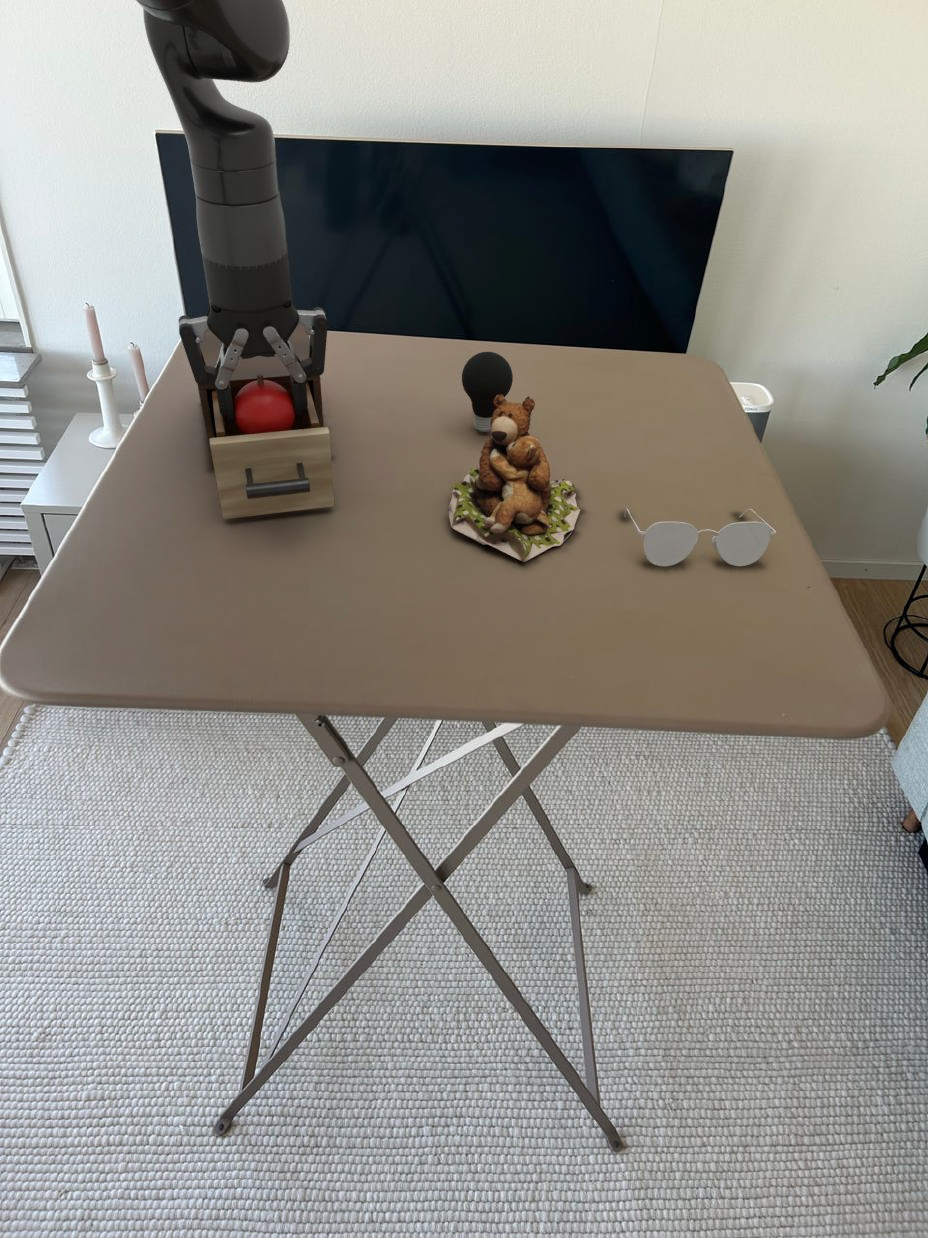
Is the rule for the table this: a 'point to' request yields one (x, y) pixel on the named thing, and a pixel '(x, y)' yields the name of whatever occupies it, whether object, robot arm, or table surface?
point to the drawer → (272, 465)
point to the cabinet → (254, 375)
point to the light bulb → (486, 385)
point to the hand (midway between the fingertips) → (265, 414)
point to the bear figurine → (513, 490)
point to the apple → (263, 408)
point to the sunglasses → (732, 541)
